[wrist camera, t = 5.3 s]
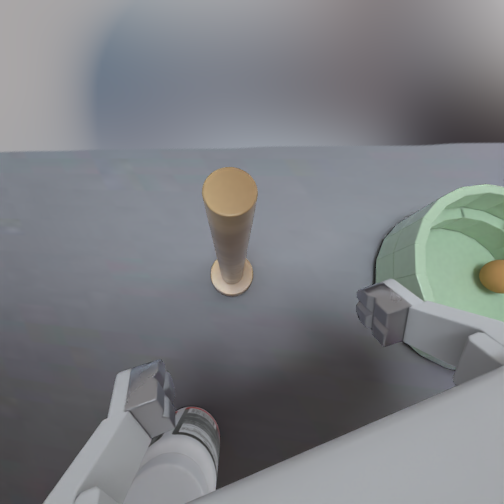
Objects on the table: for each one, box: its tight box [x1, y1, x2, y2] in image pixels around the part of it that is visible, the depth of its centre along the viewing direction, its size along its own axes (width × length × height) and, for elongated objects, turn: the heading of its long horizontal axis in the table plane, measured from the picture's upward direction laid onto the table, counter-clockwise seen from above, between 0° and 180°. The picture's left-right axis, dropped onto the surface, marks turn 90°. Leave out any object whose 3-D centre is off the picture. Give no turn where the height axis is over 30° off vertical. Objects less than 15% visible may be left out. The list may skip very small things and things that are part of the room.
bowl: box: [376, 184, 504, 370], centre depth 22 cm, size 15×15×6 cm
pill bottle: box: [123, 407, 220, 504], centre depth 16 cm, size 5×5×8 cm
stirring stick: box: [202, 167, 258, 297], centre depth 16 cm, size 4×4×16 cm
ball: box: [479, 260, 504, 294], centre depth 23 cm, size 3×3×3 cm
